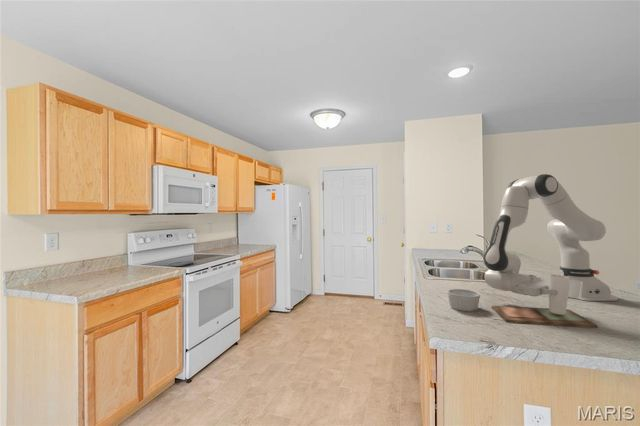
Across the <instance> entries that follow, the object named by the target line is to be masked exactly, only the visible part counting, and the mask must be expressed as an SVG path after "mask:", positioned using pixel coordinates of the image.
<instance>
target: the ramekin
mask: <svg viewBox="0 0 640 426" xmlns="http://www.w3.org/2000/svg"><path fill="white" fill-rule="evenodd" d="M447 295H448V302H449V305H450V307H451V308H453V310H455V311H456V310H457V311H460V312H475V311H476V310H478V308H479V303H480V298H481V294H480V293H479V292H477V291H475V290H471V289H464V288H453V289H449V290H448V291H447Z"/></svg>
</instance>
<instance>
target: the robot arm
mask: <svg viewBox="0 0 640 426" xmlns="http://www.w3.org/2000/svg"><path fill="white" fill-rule="evenodd" d="M507 186H508V187H507V188H506V190H505V191H504V194H503V197H502V200H501V204H500V209H499V210H500V211H499V213H498V217H497V218H496V221H495V223H494V226H493V230H492V234H491V237H490V240H489V241H490V242H489V245H488V247H487V249H486V251H485V252H484V254H483V264H484V265H485V267H486V268H487V270H486V271H485V273H484V280H485V281H484V282H485V284H486V285H487V286H488V287H490V288H492V289H494V290H495V289H496V290H499V291H503V292H511V293H514V294H517V295H523V296H530V297H536V298H537V297H539V296H542V295H548V296H549V295H557V290H549V289H548V279H549V278H544V277H538V276H537V275H535V274H534V275H533V274H522V273H519V271H520V269H521V260H520V258H519V256H518V255H517V254H515V253H512V252H509V251H507V250H506V246H507V242H508V237H509V234H510V232H511V231H512V230H513V229H515V228H517V227H521V226H522V225H524V223H526V220H527V218H528V213H529V203H530V200H535V199H539V201H540V203H541V204H542V206H543V207H544V209H545V210H546V211H547V214H548V215H549V217H550V216H551V218H554V219H552V220H550V221H549V222H548V223H547V226H546V231H547V234H548V236H550V237H551V238H552V239H553V240H554V241H555V242H556V243H555V244H556V245H557V247H558V249H559V255H560V266H559V275H562V276H567V277H570V288H569V295H568V298H571V299H576V300H580V301H586V302H589V301H590V302H594V301H595V302H596V301H597V302H599V301H602V302H608V301H609V302H615V301H617V302H618V300H619V298H618V297H617V296H615V295H613V294H612V291H611V289H610V287H609V285H608V284H606V283H605V282H603V281H602V280H601V279H599V278H597V277H596V276H595V275H599V274H600V273H601V272H600V271H599V270H597V269H592V268H590V265H591V264H590V253H589V251H588V250H587V249H585V248H584V247H583V246H582V245H581V243H580V242H594V241H595V242H596V241H601V240H602V239H603V238H604V237H605V235H606V229H607V228H606V226H605V224H604V222H602V221H600V220H598V219H595V218H594V217H592V216H590V215H588V214H587V213H585V212H584V211H582V210H581V208H579V207H578V206H577V205H576V203H575V202H574V201H573V200H572V198H571V196H570V194H569V193H568V192H567V190H566V189H565V188H564V186H563V185H562V184H561V183H560V182H559V181H558V180H557V179H556V178H555V177H554V176H553V175H551V174H547V173H545V174H538V175H531V176H527V177H524V178H523V177H522V178H520V179H516V180H513V181H512V182H510V183H509V185H507ZM579 241H580V242H579Z"/></svg>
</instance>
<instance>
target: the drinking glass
mask: <svg viewBox="0 0 640 426" xmlns="http://www.w3.org/2000/svg"><path fill="white" fill-rule="evenodd" d="M547 279H548V289H549V290H557V295H548V308H549V311H550V312H551V313H554V314H558V315H565V314H566V309H567V308H568V307H567V306H568V300H569V297H568V295H569V288H570V277H567V276H562V275H560V274H554V273H551V274H549V275H548V278H547Z"/></svg>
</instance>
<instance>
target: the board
mask: <svg viewBox="0 0 640 426" xmlns="http://www.w3.org/2000/svg"><path fill="white" fill-rule="evenodd" d="M491 309H493V311H494V312H495V313H496V314H497V315H498V316H500V318H501V319H503V321H504V322H505V323H513V324H530V325H531V324H533V325H545V326H547V325H548V326H560V327H561V326H563V327H577V328H592V329H598V324H596V323H594V322H593V321H591V320H589V319H588V318H585V317H583V316H582V315H580V314H579V313H576V312H575V311H573V310H571V309H570V308H569V309H567V308H566V314H565V315H558V314H554V313H551V312H550V311H549V307H548V308H547V307H545V308H544V307H528V306H509V305H508V306H505V305H491Z"/></svg>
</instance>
